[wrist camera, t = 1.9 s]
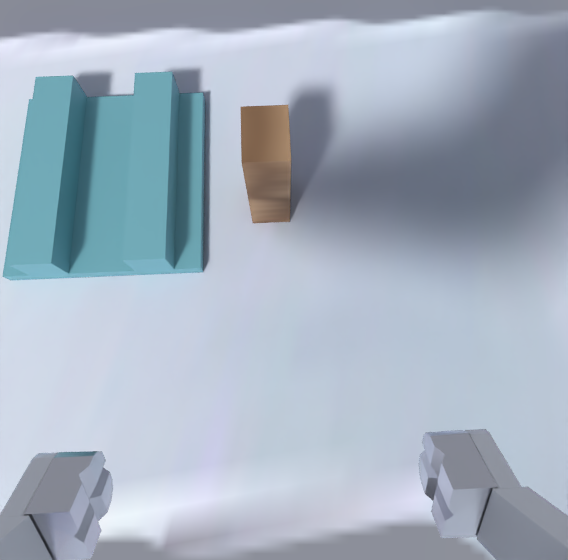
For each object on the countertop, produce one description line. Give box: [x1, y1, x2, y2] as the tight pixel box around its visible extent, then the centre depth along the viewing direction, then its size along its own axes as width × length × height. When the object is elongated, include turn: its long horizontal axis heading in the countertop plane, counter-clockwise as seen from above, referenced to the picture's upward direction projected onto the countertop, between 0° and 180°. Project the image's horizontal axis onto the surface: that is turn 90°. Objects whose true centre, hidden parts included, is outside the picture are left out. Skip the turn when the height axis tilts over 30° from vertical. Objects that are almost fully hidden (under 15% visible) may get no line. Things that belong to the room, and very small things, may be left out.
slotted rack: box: [3, 72, 205, 280], centre depth 33 cm, size 15×16×4 cm
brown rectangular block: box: [241, 105, 291, 223], centre depth 30 cm, size 3×4×9 cm
